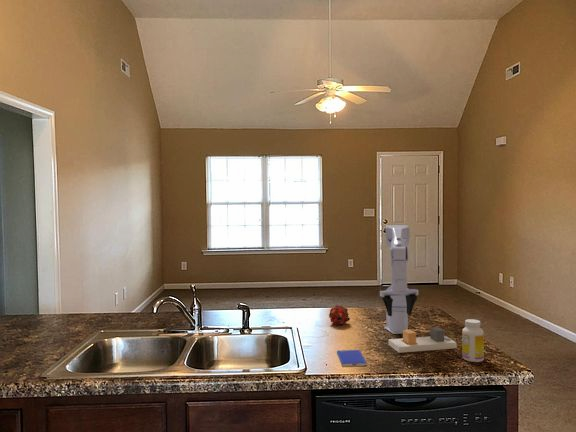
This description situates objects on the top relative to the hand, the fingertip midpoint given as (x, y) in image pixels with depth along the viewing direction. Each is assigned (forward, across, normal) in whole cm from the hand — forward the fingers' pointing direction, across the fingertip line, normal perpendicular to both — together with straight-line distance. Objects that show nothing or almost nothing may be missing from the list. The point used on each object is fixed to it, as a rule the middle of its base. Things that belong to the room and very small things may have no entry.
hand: (399, 315), depth 169 cm
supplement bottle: (+11, +16, -22) cm, 29 cm away
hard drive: (+11, -23, -12) cm, 29 cm away
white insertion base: (+10, +6, -6) cm, 13 cm away
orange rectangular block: (+10, +1, -6) cm, 12 cm away
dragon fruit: (+10, -14, +30) cm, 35 cm away
